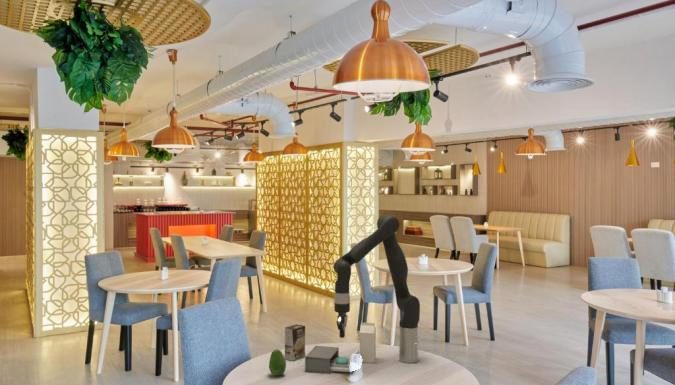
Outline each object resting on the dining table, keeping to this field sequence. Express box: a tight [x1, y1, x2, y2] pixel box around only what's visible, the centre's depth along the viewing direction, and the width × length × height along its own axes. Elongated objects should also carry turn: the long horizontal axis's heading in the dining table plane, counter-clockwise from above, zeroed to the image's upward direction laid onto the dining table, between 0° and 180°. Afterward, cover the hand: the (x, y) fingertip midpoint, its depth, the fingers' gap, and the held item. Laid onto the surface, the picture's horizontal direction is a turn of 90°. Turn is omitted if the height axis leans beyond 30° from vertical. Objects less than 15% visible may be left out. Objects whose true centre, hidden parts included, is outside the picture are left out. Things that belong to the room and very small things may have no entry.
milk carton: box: [359, 322, 377, 364], centre depth 268 cm, size 7×7×19 cm
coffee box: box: [284, 324, 306, 362], centre depth 272 cm, size 9×6×16 cm
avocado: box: [268, 349, 287, 377], centre depth 247 cm, size 8×8×12 cm
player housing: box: [304, 345, 340, 375], centre depth 259 cm, size 12×18×7 cm, turn 166°
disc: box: [336, 356, 349, 365], centre depth 257 cm, size 6×6×2 cm
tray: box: [330, 349, 360, 373], centre depth 257 cm, size 12×17×6 cm
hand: (342, 337), depth 257 cm, fingers closed
